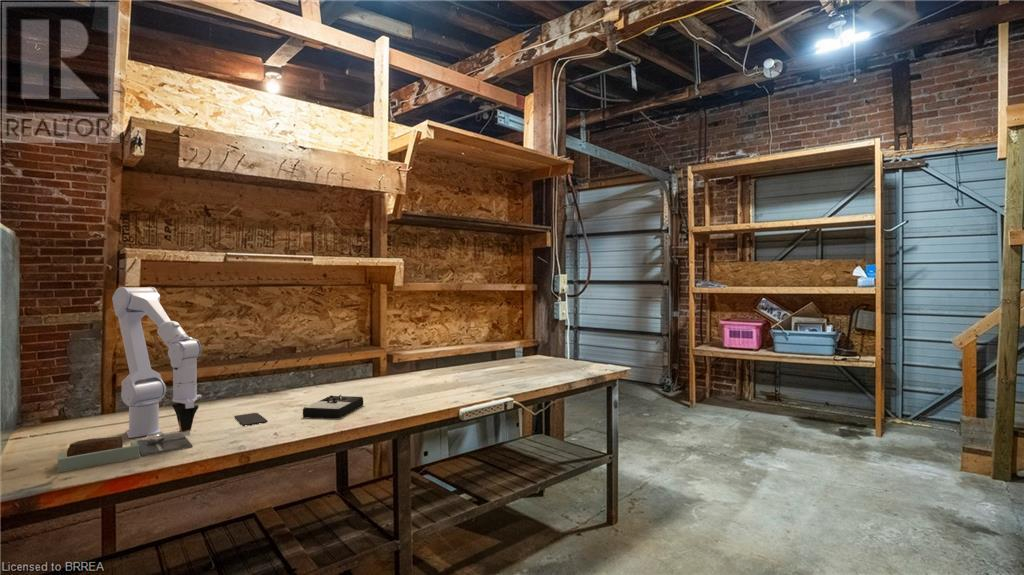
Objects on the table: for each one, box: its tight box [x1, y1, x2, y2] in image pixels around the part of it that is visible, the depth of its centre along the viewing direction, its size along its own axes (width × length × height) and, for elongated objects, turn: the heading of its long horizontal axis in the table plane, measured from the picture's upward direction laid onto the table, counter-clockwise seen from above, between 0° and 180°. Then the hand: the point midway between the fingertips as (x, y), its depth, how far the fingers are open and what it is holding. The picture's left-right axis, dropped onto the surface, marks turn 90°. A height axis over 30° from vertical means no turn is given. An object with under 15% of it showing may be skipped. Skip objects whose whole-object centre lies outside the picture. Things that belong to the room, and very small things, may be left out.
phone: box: [234, 412, 268, 427], centre depth 165 cm, size 7×1×15 cm
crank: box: [146, 420, 191, 443], centre depth 142 cm, size 10×4×5 cm, turn 132°
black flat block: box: [302, 394, 364, 419], centre depth 176 cm, size 13×19×5 cm
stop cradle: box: [57, 440, 140, 473], centre depth 126 cm, size 6×16×3 cm, turn 133°
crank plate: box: [136, 436, 193, 457], centre depth 139 cm, size 15×11×1 cm
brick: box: [66, 435, 124, 457], centre depth 129 cm, size 11×4×5 cm, turn 111°
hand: (185, 428), depth 145 cm, fingers closed on crank, 3 cm apart
